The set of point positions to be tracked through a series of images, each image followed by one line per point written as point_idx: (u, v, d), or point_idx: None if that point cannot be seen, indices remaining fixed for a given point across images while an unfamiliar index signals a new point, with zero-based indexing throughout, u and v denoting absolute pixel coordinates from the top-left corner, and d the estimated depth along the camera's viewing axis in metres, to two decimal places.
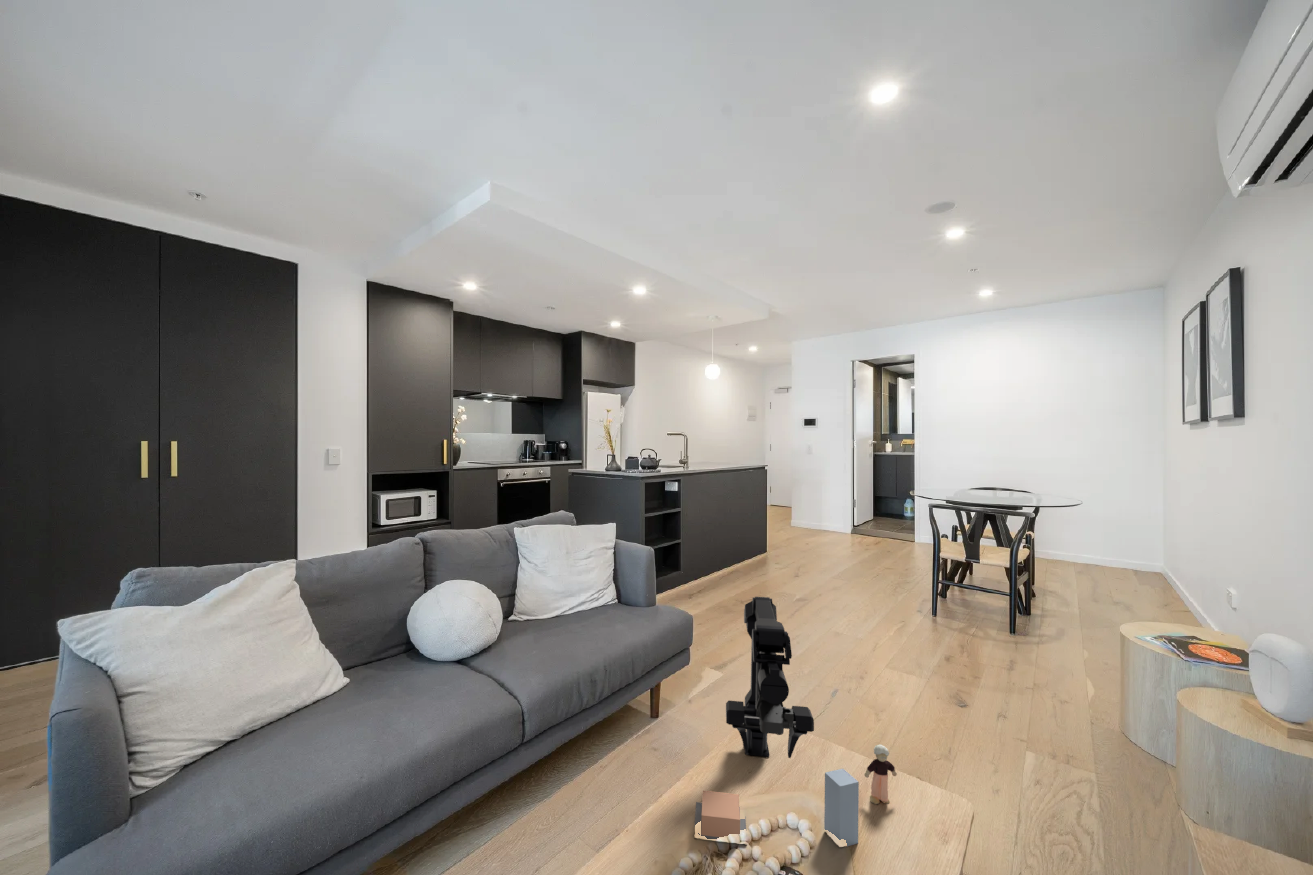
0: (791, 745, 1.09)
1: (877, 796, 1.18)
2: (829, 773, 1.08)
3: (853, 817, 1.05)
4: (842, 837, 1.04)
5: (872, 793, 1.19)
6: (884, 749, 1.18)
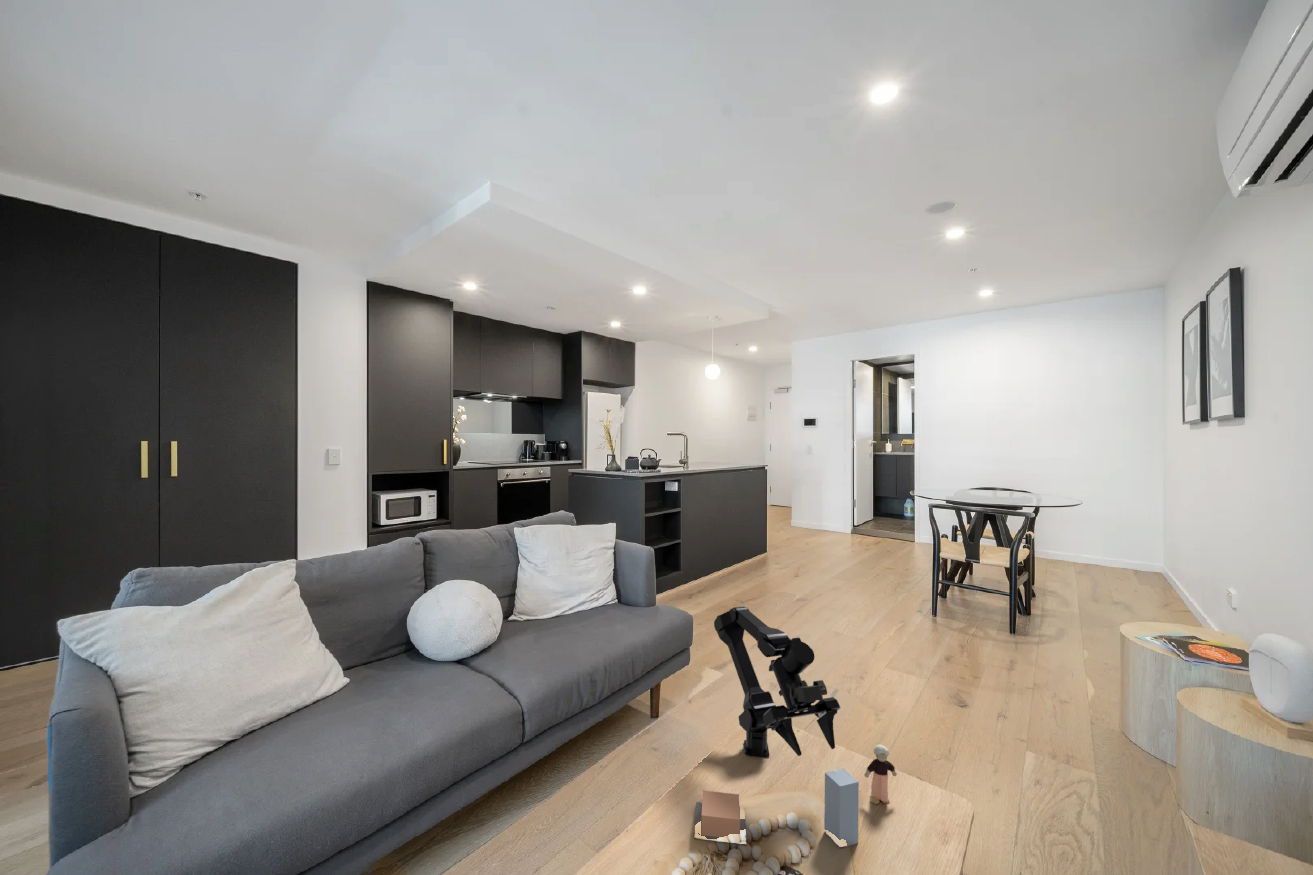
0: (830, 732, 1.17)
1: (877, 796, 1.18)
2: (829, 773, 1.08)
3: (853, 817, 1.05)
4: (842, 837, 1.04)
5: (872, 793, 1.19)
6: (884, 749, 1.18)
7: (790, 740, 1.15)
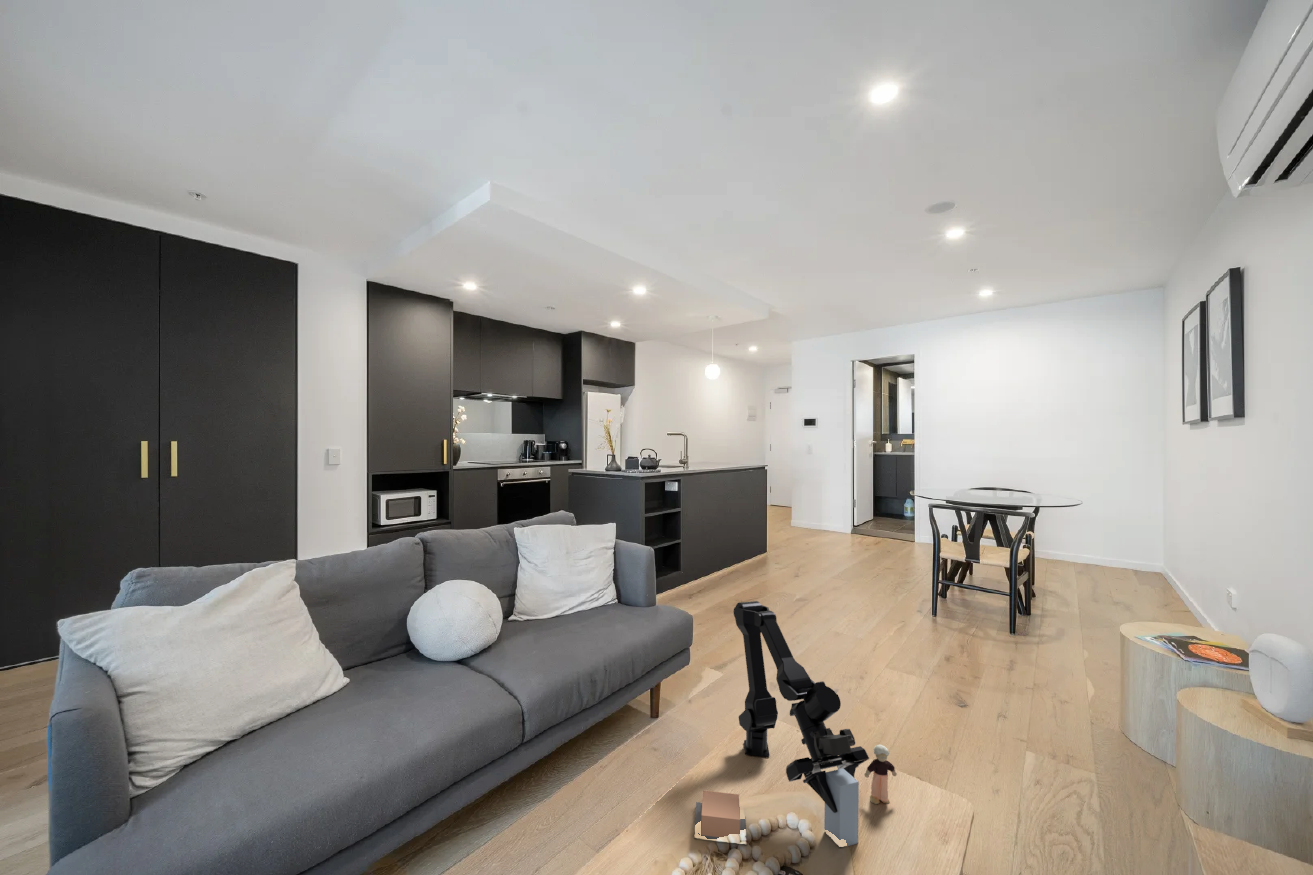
0: None
1: (877, 796, 1.18)
2: (829, 773, 1.08)
3: (853, 817, 1.05)
4: (842, 837, 1.04)
5: (872, 793, 1.19)
6: (884, 749, 1.18)
7: (824, 795, 1.06)
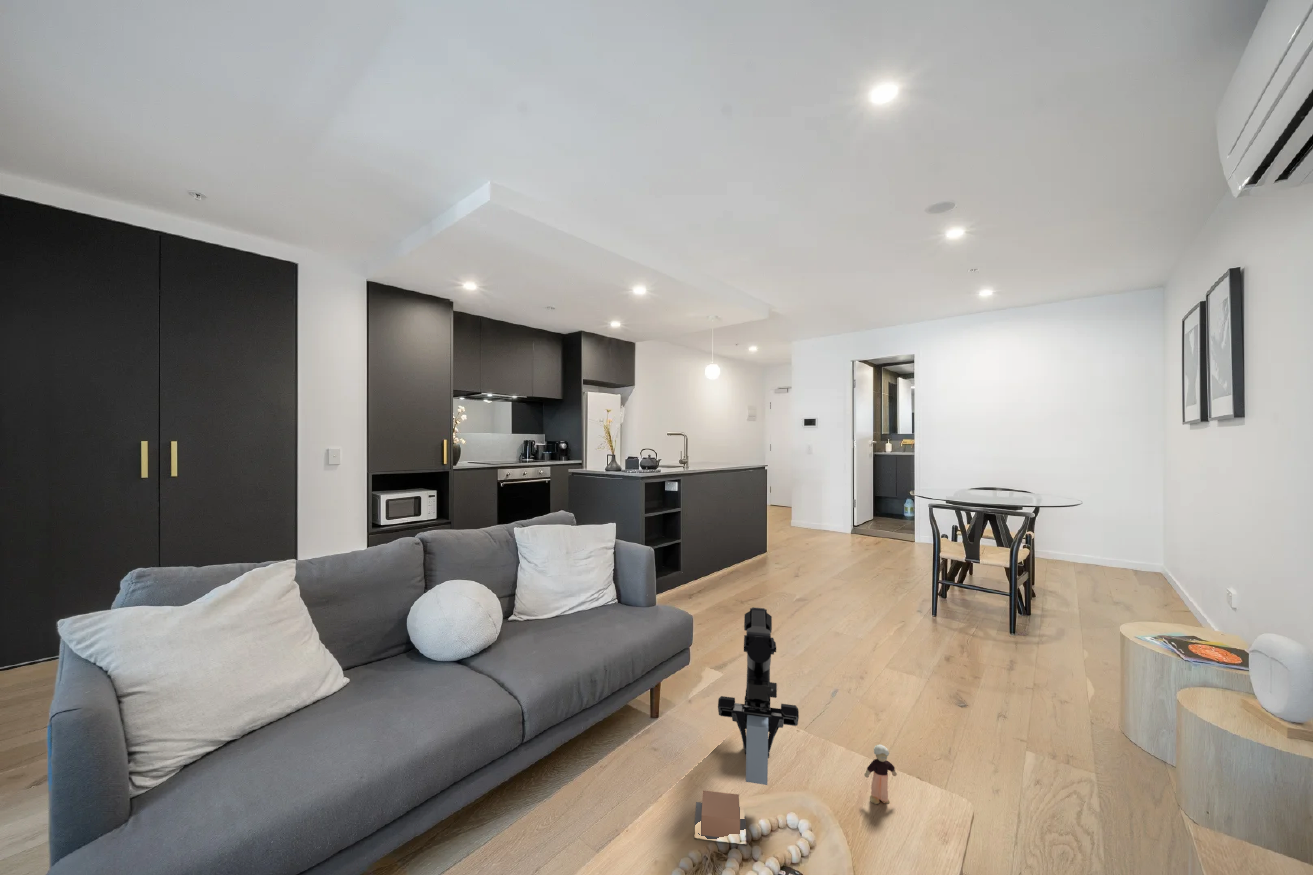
0: (769, 736, 1.15)
1: (877, 796, 1.18)
2: (750, 716, 1.18)
3: (762, 759, 1.13)
4: (749, 772, 1.13)
5: (872, 793, 1.19)
6: (884, 749, 1.18)
7: (741, 733, 1.17)
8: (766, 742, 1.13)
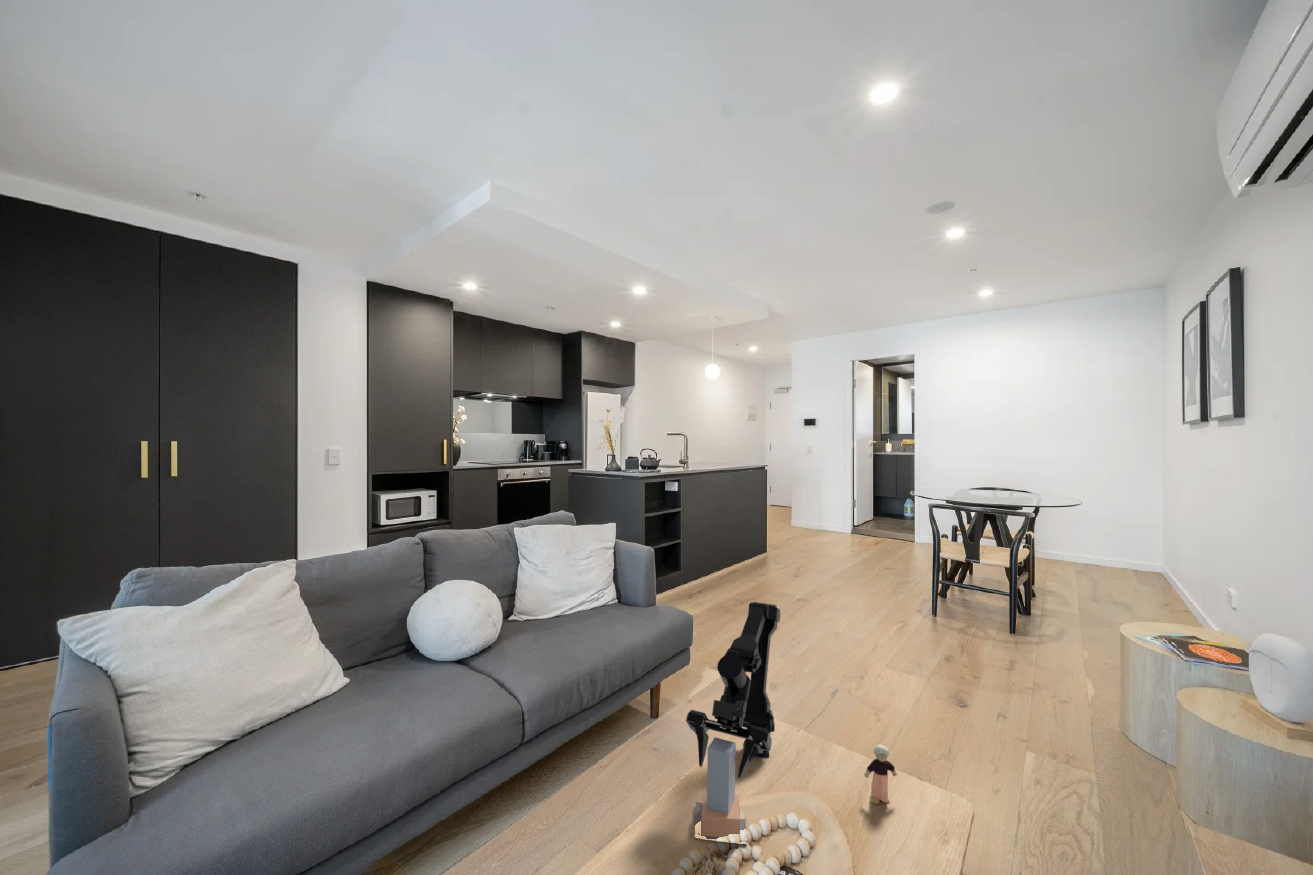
0: (742, 760, 1.07)
1: (877, 796, 1.18)
2: (717, 739, 1.11)
3: (722, 786, 1.06)
4: (710, 799, 1.07)
5: (872, 793, 1.19)
6: (884, 749, 1.18)
7: None
8: (727, 769, 1.06)
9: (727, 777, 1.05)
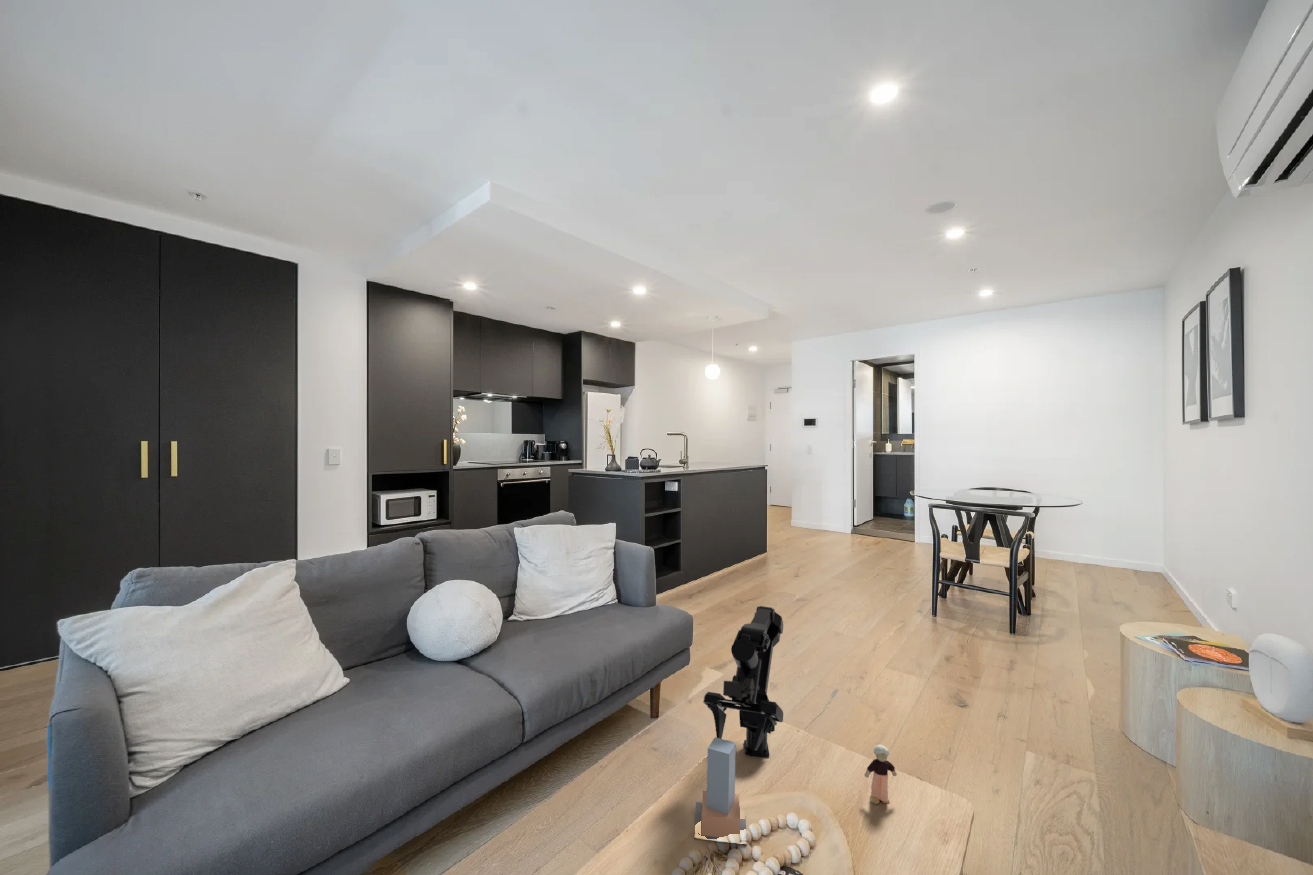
0: (756, 733, 1.15)
1: (877, 796, 1.18)
2: (717, 739, 1.11)
3: (722, 786, 1.06)
4: (710, 799, 1.07)
5: (872, 793, 1.19)
6: (884, 749, 1.18)
7: None
8: (727, 769, 1.06)
9: (727, 777, 1.05)
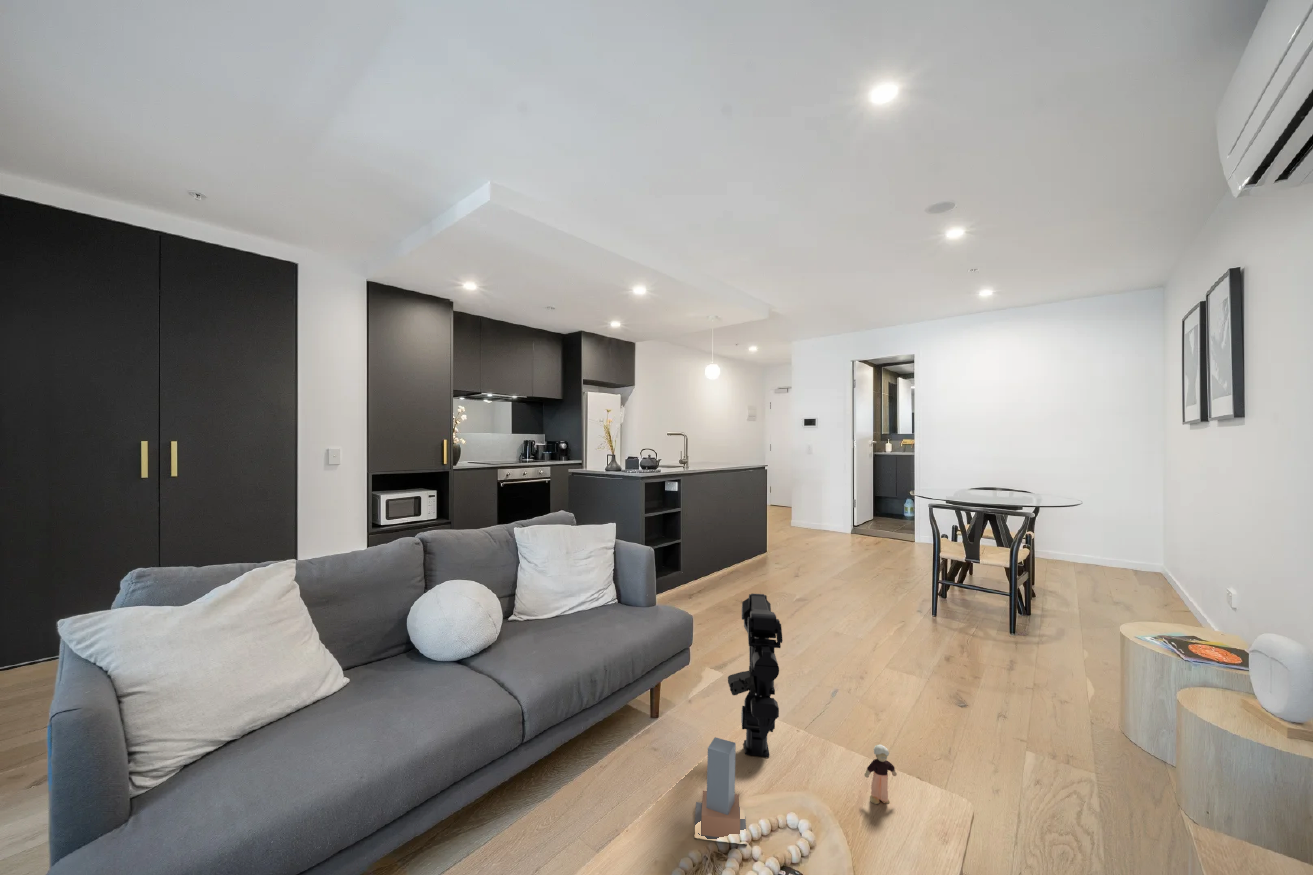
0: (758, 725, 1.20)
1: (877, 796, 1.18)
2: (717, 739, 1.11)
3: (722, 786, 1.06)
4: (710, 799, 1.07)
5: (872, 793, 1.19)
6: (884, 749, 1.18)
7: None
8: (727, 769, 1.06)
9: (727, 777, 1.05)
